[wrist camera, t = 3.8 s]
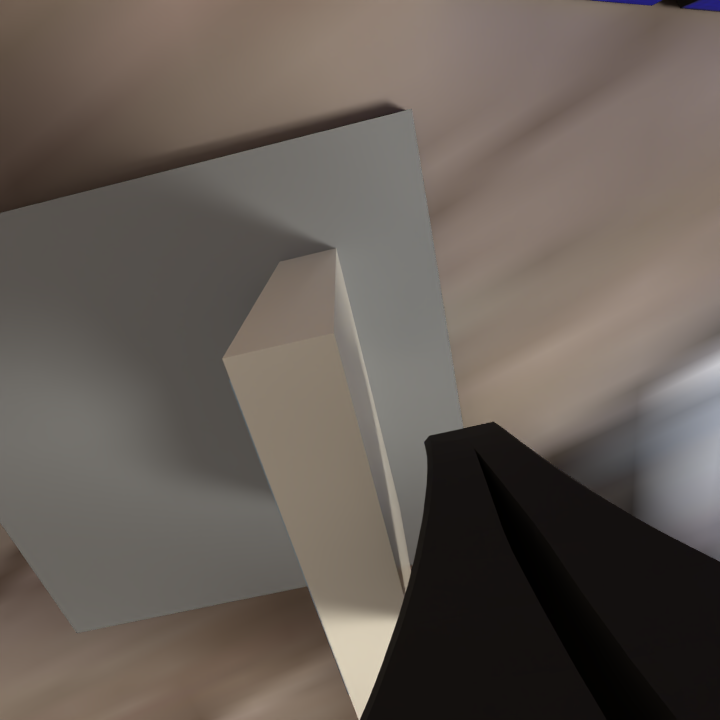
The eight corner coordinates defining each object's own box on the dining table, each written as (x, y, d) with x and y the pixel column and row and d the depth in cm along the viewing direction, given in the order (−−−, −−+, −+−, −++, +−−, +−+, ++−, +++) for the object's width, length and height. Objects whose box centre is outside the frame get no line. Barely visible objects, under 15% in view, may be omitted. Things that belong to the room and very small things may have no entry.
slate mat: (479, 539, 16) (483, 550, 15) (84, 619, 16) (76, 633, 16) (408, 111, 10) (411, 109, 10) (-162, 255, 11) (-184, 259, 11)
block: (399, 505, 14) (437, 723, 9) (348, 516, 14) (354, 738, 9) (336, 247, 11) (333, 332, 6) (271, 263, 11) (206, 362, 6)
